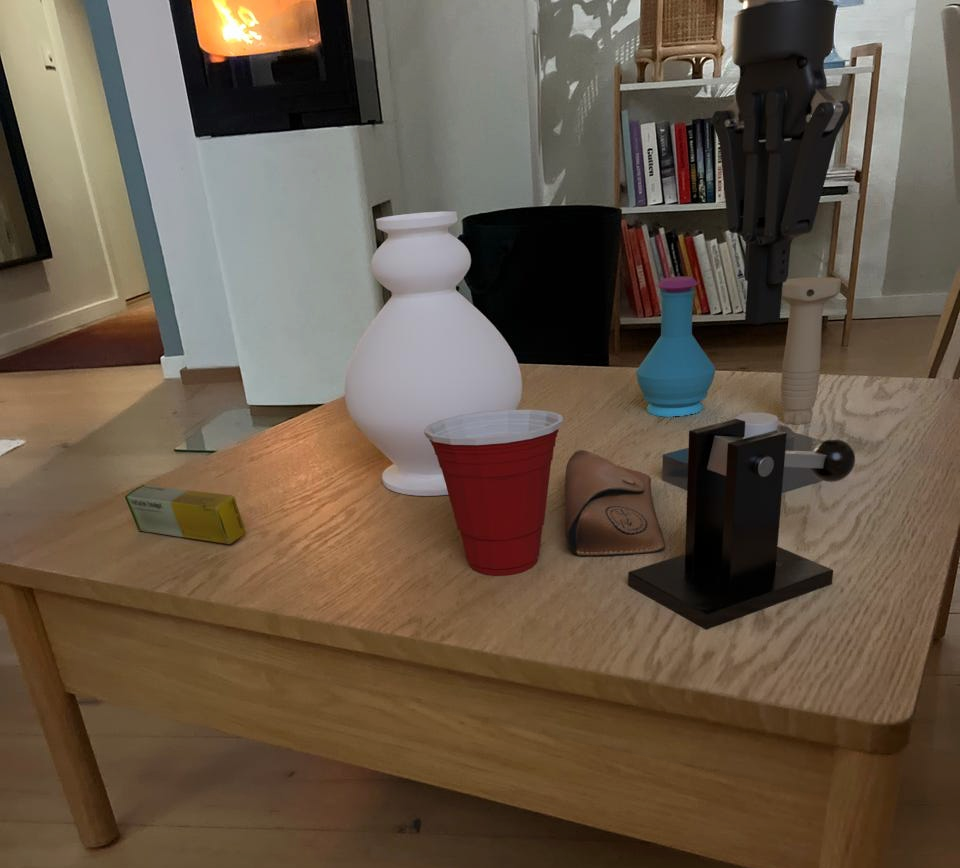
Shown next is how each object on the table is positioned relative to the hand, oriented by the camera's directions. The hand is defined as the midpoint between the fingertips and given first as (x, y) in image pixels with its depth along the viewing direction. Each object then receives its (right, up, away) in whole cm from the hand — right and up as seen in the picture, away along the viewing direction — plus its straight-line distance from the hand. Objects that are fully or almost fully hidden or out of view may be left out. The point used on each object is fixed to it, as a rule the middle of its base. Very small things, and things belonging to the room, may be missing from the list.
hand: (762, 321), depth 83 cm
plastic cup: (-23, -22, -5) cm, 32 cm away
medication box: (-52, -19, +5) cm, 56 cm away
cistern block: (+1, -13, +8) cm, 15 cm away
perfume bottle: (-1, 0, +31) cm, 31 cm away
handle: (+11, -4, +23) cm, 25 cm away
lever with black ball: (-3, -17, -14) cm, 22 cm away
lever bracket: (-6, -24, -13) cm, 28 cm away
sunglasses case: (-13, -17, +2) cm, 22 cm away
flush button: (+1, -9, +6) cm, 11 cm away
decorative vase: (-29, -11, +15) cm, 35 cm away
